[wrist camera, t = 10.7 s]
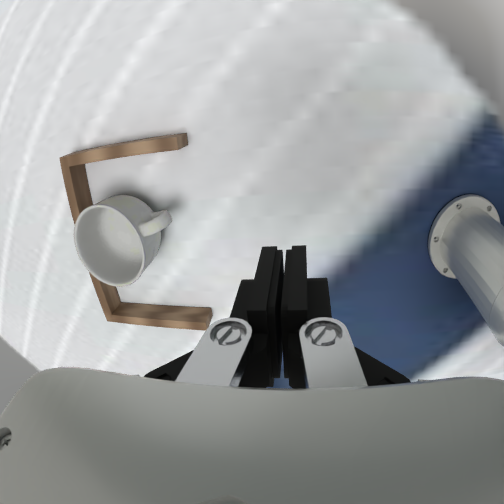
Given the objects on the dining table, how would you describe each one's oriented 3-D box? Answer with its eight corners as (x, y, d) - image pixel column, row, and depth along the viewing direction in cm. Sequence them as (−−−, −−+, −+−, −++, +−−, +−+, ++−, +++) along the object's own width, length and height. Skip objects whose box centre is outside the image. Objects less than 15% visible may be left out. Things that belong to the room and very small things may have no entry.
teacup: (117, 260, 44) (91, 290, 37) (92, 195, 40) (59, 216, 33) (199, 248, 42) (181, 281, 35) (177, 172, 37) (150, 191, 30)
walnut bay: (186, 132, 34) (176, 136, 31) (212, 315, 47) (207, 330, 44) (74, 152, 37) (59, 157, 34) (116, 308, 49) (107, 321, 46)
